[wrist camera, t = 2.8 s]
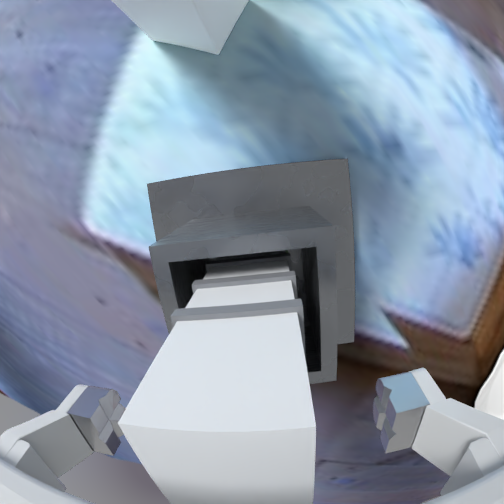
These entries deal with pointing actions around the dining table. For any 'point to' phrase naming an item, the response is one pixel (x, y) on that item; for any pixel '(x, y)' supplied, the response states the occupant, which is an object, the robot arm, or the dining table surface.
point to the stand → (265, 241)
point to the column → (230, 391)
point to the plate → (493, 391)
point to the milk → (185, 21)
